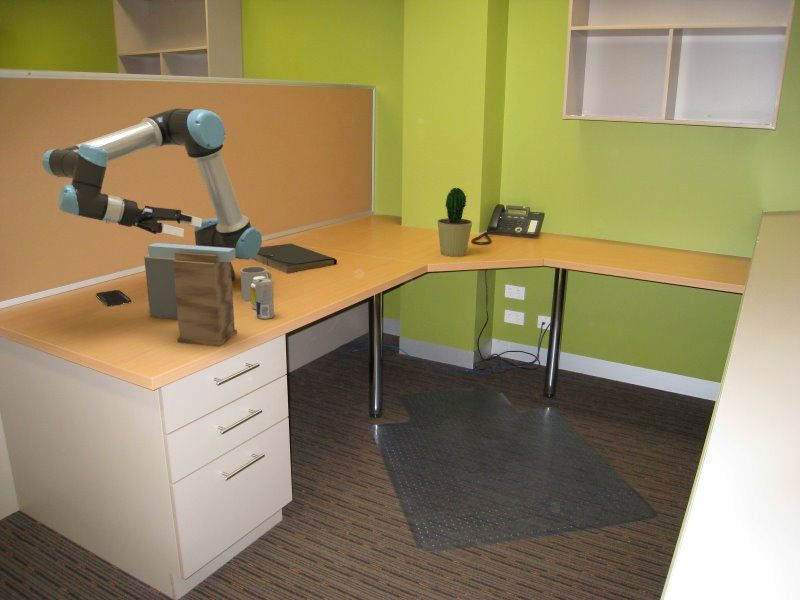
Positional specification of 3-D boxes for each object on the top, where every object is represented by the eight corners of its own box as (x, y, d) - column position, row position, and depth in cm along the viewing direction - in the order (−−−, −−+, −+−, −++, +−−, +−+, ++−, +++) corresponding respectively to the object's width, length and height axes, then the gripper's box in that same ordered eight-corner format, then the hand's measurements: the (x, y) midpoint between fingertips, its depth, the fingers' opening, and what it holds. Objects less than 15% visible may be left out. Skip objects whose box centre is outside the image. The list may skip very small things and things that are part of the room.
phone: (118, 289, 227) (131, 300, 216) (119, 292, 228) (132, 303, 216) (94, 293, 223) (106, 304, 211) (95, 296, 223) (107, 307, 212)
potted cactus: (438, 258, 283) (441, 188, 274) (433, 249, 298) (436, 183, 288) (473, 258, 284) (477, 189, 275) (467, 249, 299) (470, 184, 290)
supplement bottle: (260, 311, 211) (258, 281, 208) (248, 308, 214) (246, 278, 211) (272, 307, 215) (271, 277, 212) (261, 304, 218) (259, 274, 215)
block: (167, 306, 213) (161, 248, 207) (201, 309, 211) (196, 251, 205) (150, 316, 204) (144, 256, 198) (185, 319, 202) (180, 258, 196)
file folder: (245, 248, 277) (294, 242, 292) (245, 258, 278) (294, 251, 293) (286, 264, 253) (337, 256, 268) (286, 275, 254) (336, 266, 269)
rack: (196, 329, 194) (189, 245, 186) (237, 332, 192) (232, 248, 184) (177, 342, 184) (169, 254, 176) (220, 346, 182) (214, 257, 174)
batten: (156, 253, 185) (155, 242, 184) (235, 258, 181) (235, 248, 180) (148, 256, 181) (147, 245, 181) (229, 262, 177) (228, 251, 176)
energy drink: (261, 313, 209) (260, 277, 205) (277, 315, 208) (275, 278, 204) (253, 318, 204) (251, 281, 201) (269, 320, 203) (267, 283, 199)
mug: (250, 303, 218) (249, 274, 215) (237, 297, 224) (235, 269, 221) (281, 296, 227) (280, 268, 224) (267, 290, 233) (266, 263, 229)
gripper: (105, 233, 194) (175, 248, 207) (132, 213, 175) (207, 230, 188) (108, 209, 196) (177, 225, 209) (135, 186, 177) (210, 206, 190)
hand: (192, 228), depth 199 cm, fingers open, 13 cm apart
